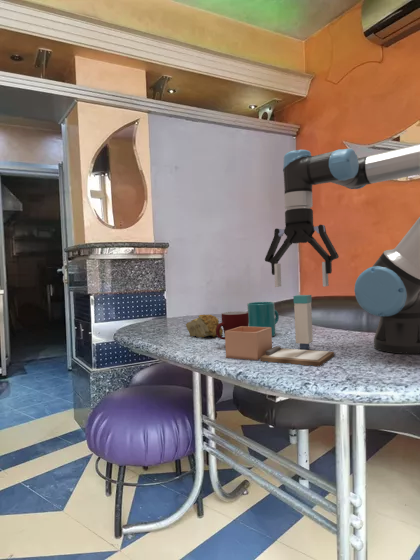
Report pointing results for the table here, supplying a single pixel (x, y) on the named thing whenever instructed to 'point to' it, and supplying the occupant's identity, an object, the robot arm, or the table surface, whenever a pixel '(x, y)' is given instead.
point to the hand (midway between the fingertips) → (301, 286)
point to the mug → (232, 321)
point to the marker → (303, 320)
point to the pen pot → (248, 342)
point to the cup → (262, 315)
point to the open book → (296, 356)
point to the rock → (203, 326)
